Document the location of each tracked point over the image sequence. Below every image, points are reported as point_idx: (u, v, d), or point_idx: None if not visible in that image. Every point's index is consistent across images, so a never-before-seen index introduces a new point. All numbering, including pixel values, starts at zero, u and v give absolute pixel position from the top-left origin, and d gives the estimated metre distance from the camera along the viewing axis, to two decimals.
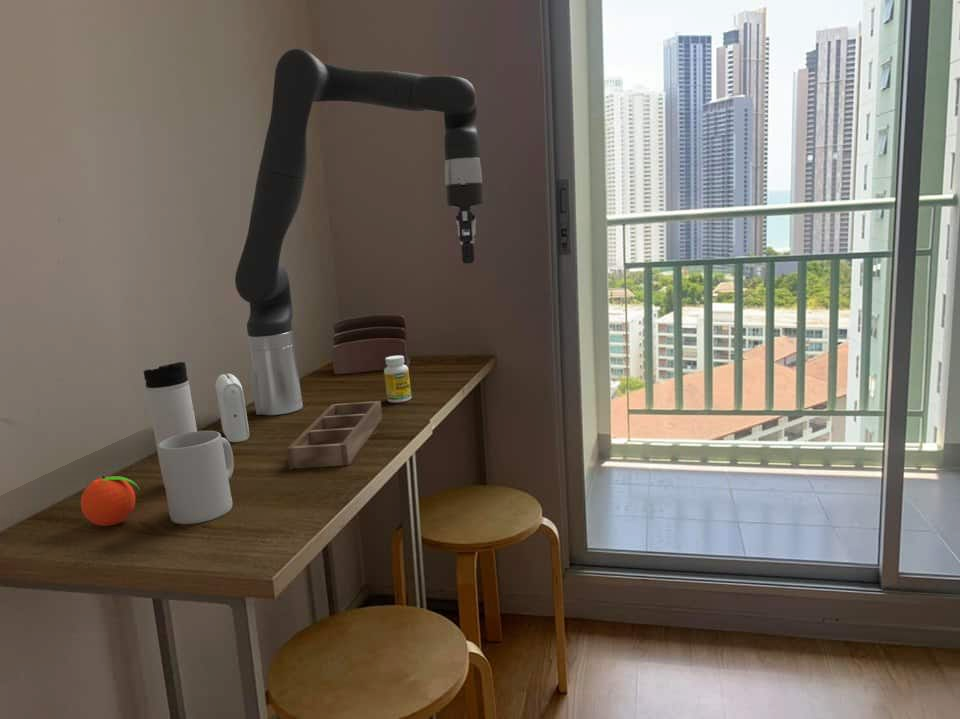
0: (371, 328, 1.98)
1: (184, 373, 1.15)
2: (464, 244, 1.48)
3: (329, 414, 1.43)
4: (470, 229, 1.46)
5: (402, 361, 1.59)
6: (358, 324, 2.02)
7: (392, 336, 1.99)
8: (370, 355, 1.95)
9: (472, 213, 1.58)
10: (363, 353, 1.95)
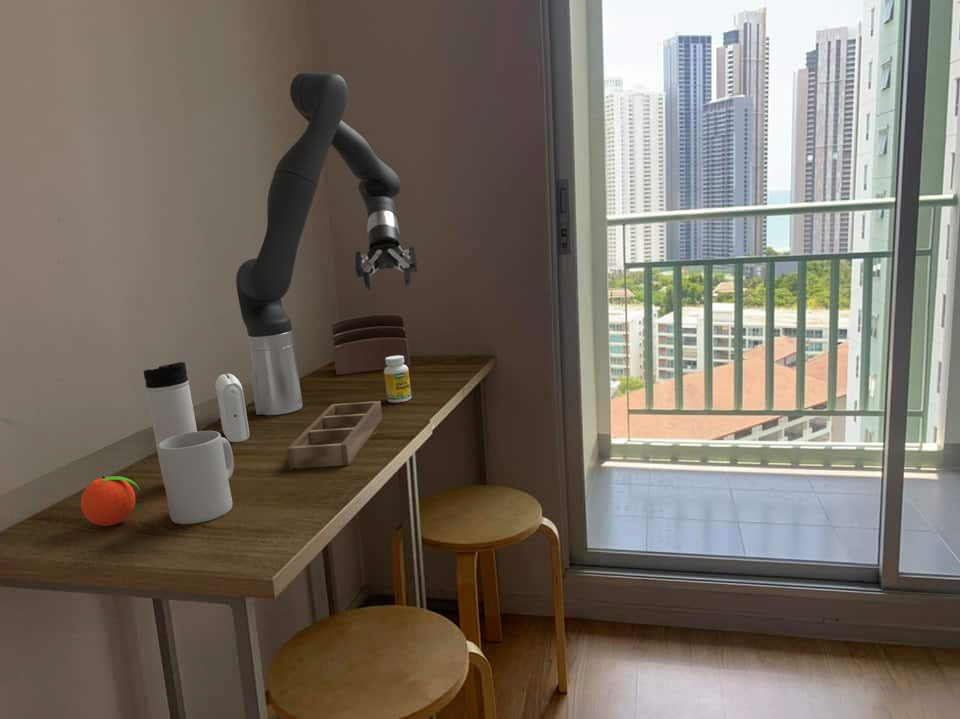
0: (371, 328, 1.98)
1: (184, 373, 1.15)
2: (410, 269, 1.71)
3: (329, 414, 1.43)
4: None
5: (402, 361, 1.59)
6: (357, 324, 2.02)
7: (392, 335, 2.00)
8: (372, 355, 1.95)
9: None
10: (365, 353, 1.95)
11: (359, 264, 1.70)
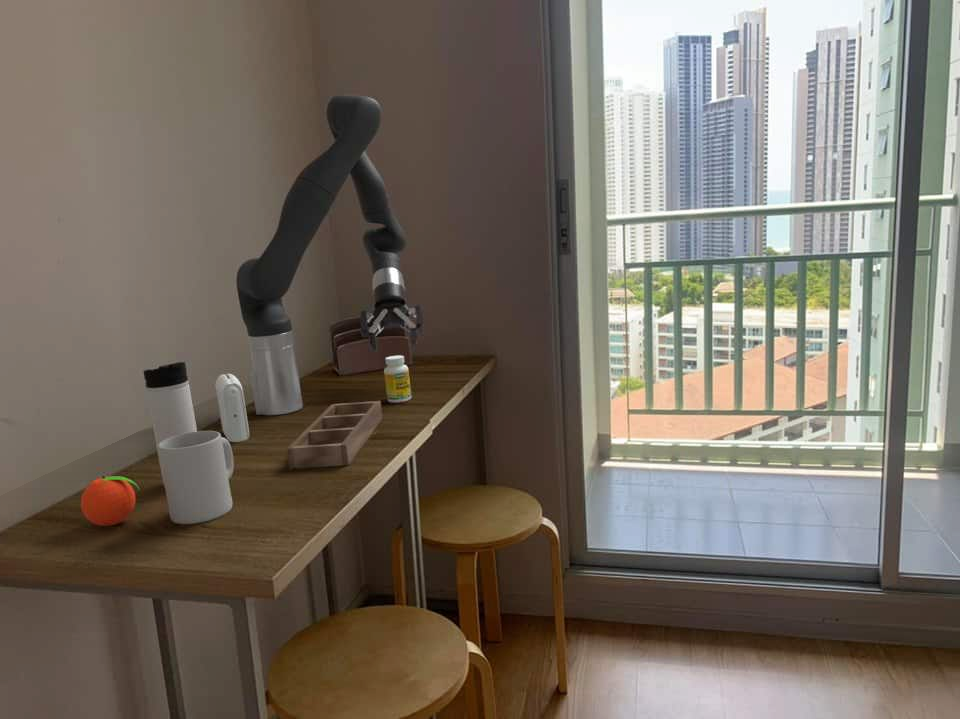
0: None
1: (184, 373, 1.15)
2: (416, 329, 1.68)
3: (329, 414, 1.43)
4: None
5: (402, 361, 1.59)
6: (354, 325, 2.02)
7: (392, 335, 2.01)
8: (375, 354, 1.96)
9: None
10: (368, 352, 1.95)
11: (364, 324, 1.67)
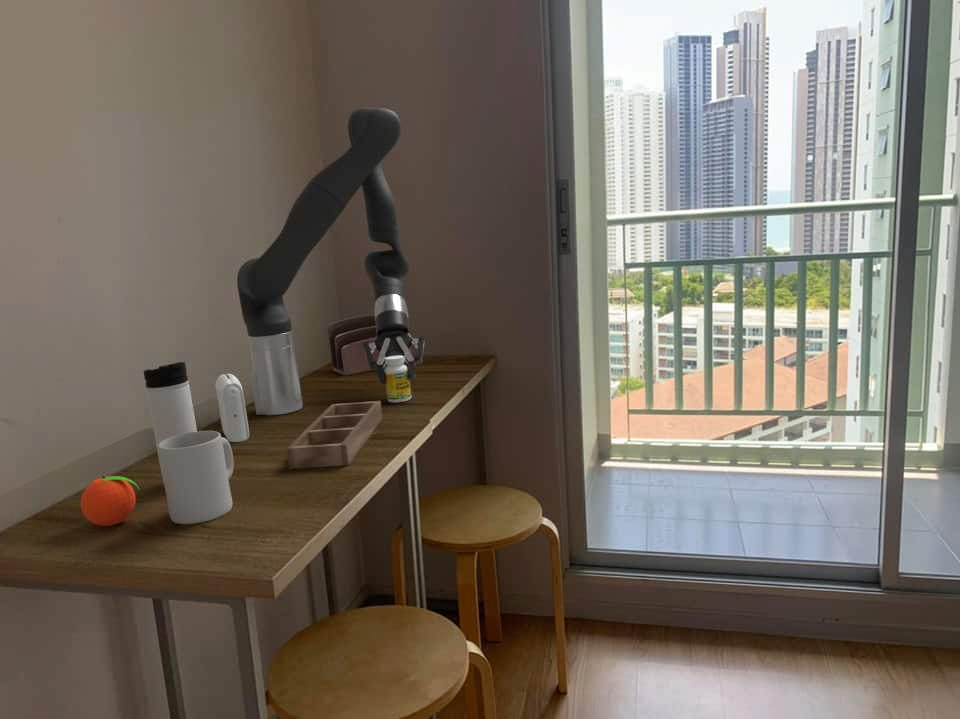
0: (371, 327, 2.00)
1: (184, 373, 1.15)
2: (413, 363, 1.61)
3: (329, 414, 1.43)
4: None
5: (402, 361, 1.59)
6: (352, 325, 2.01)
7: None
8: (378, 353, 1.97)
9: None
10: None
11: (371, 356, 1.61)
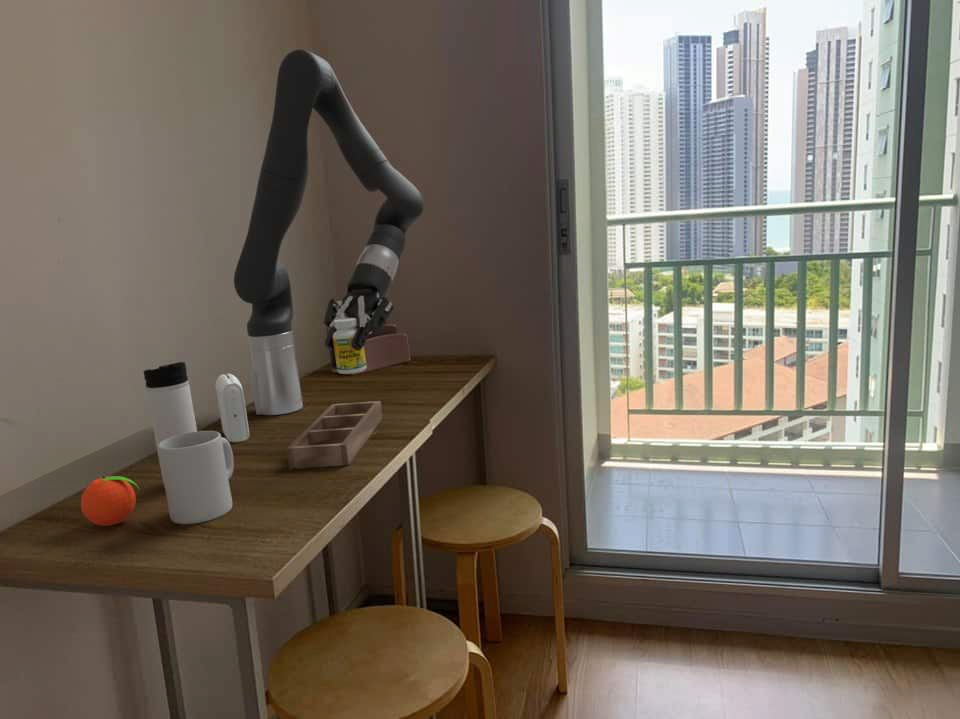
0: None
1: (184, 373, 1.15)
2: (365, 329, 1.33)
3: (329, 414, 1.43)
4: (384, 321, 1.34)
5: (348, 325, 1.32)
6: None
7: (386, 333, 2.05)
8: (380, 352, 1.98)
9: None
10: (375, 350, 1.97)
11: (329, 315, 1.38)
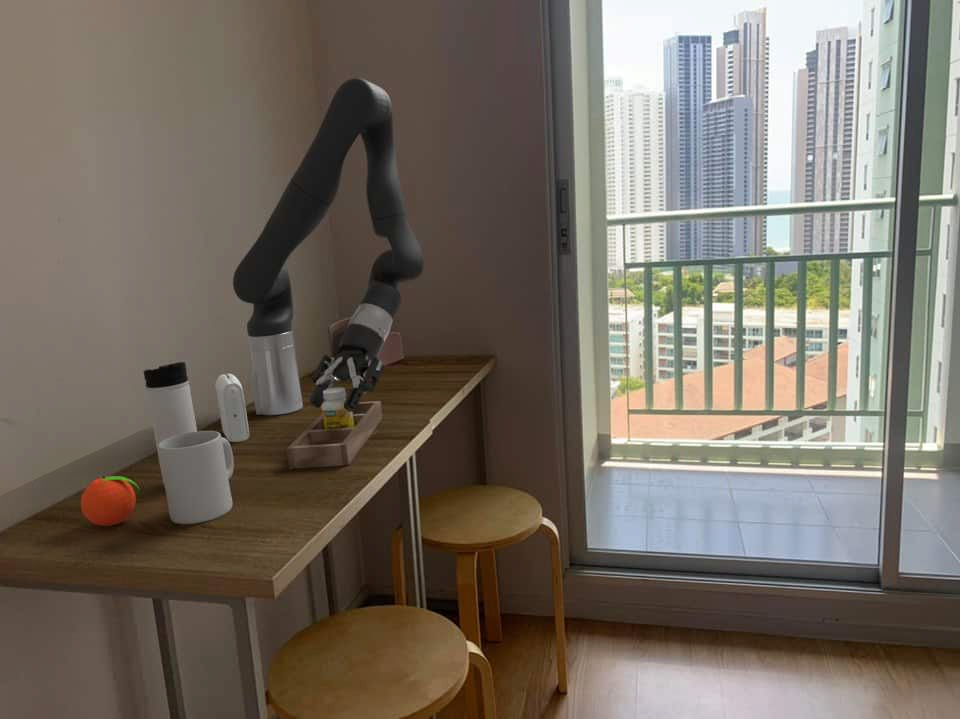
0: None
1: (184, 373, 1.15)
2: (359, 390, 1.31)
3: None
4: (377, 380, 1.32)
5: (336, 396, 1.32)
6: (346, 326, 2.00)
7: None
8: (382, 351, 2.00)
9: None
10: None
11: (317, 373, 1.38)
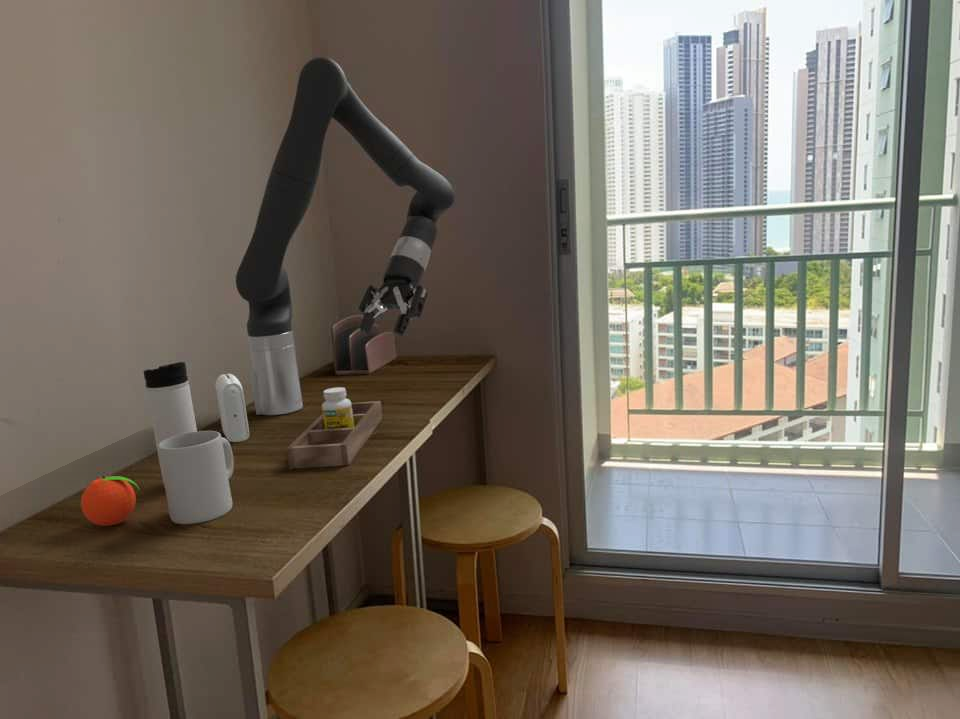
0: None
1: (184, 373, 1.15)
2: (407, 315, 1.43)
3: None
4: (422, 306, 1.44)
5: (337, 396, 1.32)
6: (344, 327, 1.99)
7: (373, 333, 2.07)
8: (381, 350, 2.01)
9: None
10: (378, 348, 1.99)
11: (364, 302, 1.49)
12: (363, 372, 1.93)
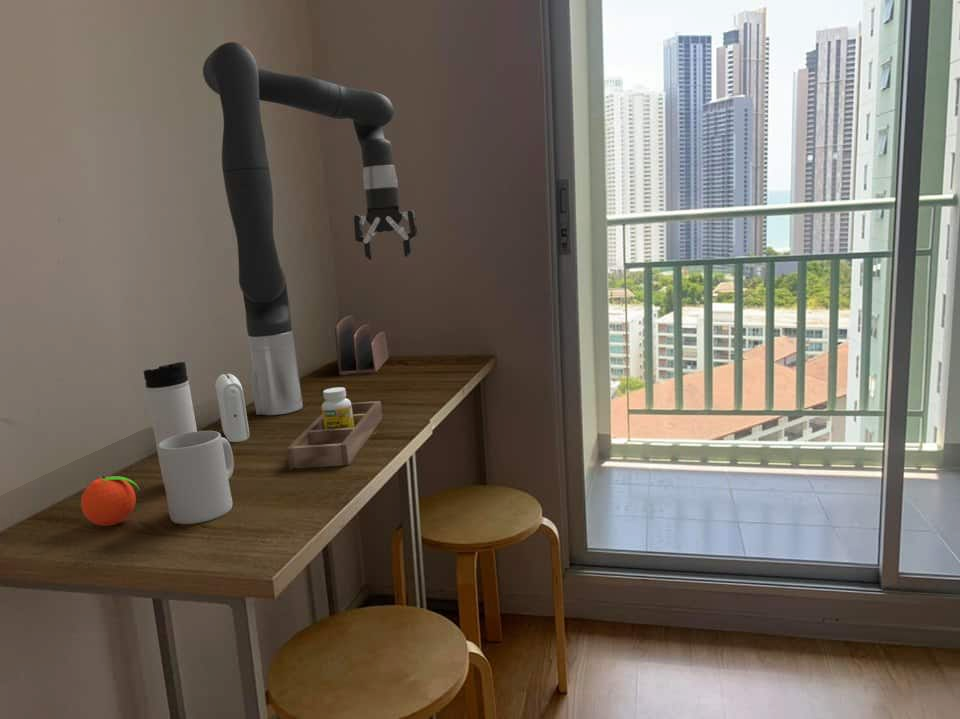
0: (362, 327, 2.02)
1: (184, 373, 1.15)
2: (409, 239, 1.70)
3: None
4: (416, 226, 1.71)
5: (336, 396, 1.32)
6: (343, 327, 1.98)
7: (367, 333, 2.08)
8: (380, 349, 2.02)
9: None
10: (379, 348, 2.00)
11: (359, 233, 1.70)
12: (369, 371, 1.93)
